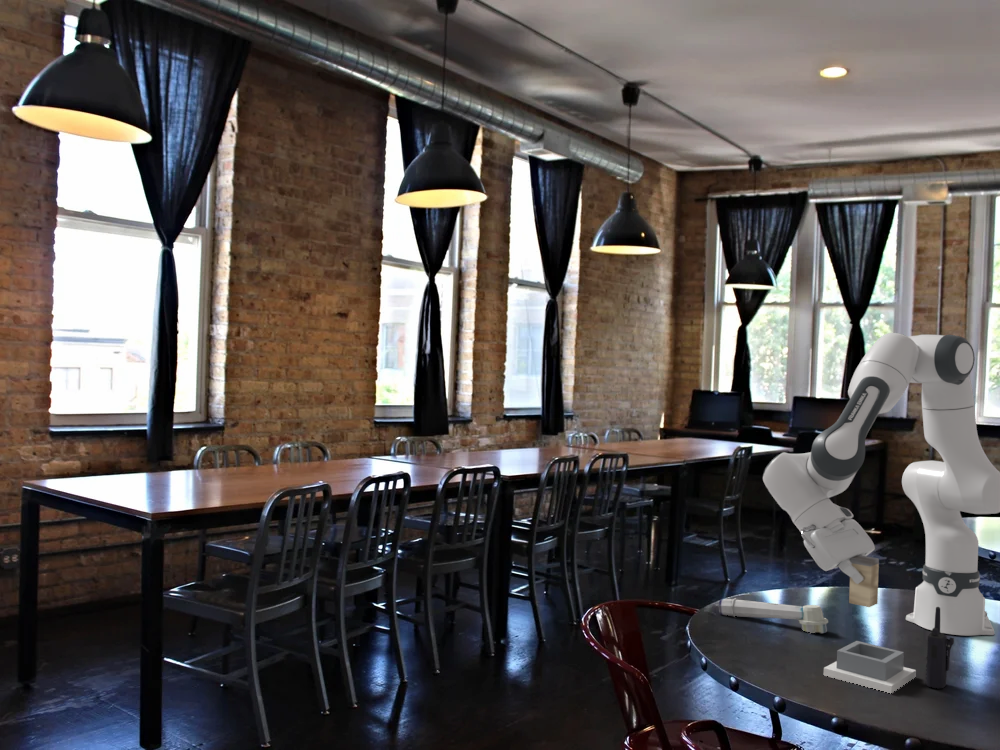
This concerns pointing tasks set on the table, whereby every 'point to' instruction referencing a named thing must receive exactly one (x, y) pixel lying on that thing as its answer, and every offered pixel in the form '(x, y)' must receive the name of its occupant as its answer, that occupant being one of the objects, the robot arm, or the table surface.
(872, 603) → the light wood tall block
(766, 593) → the table surface
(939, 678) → the two-way radio
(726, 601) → the white long handled device
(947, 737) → the table surface
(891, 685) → the tool holder
